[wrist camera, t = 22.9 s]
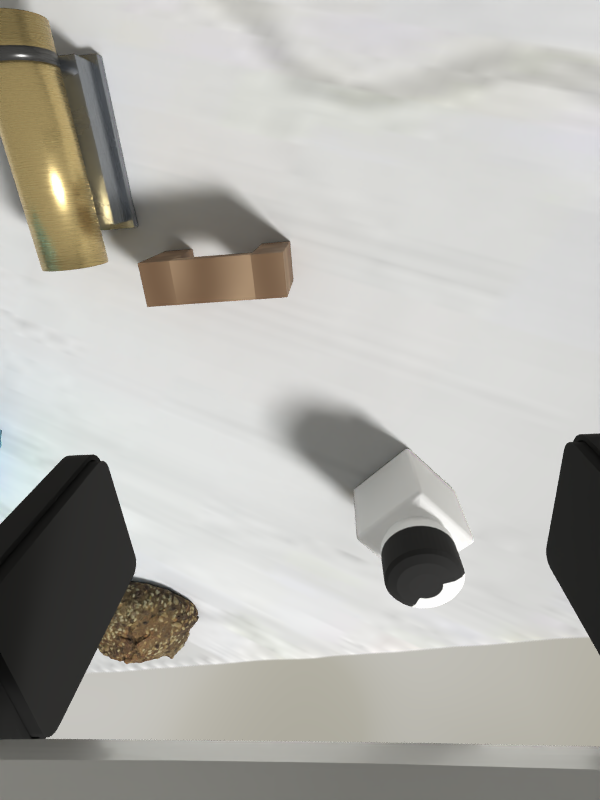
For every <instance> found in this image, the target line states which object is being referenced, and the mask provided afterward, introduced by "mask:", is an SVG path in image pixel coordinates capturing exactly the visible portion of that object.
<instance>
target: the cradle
mask: <svg viewBox="0 0 600 800" xmlns="http://www.w3.org/2000/svg"><path fill="white" fill-rule="evenodd" d="M58 59H59V63H60V67H61V73H62V77H63V81H64V85H65V89H66V93H67V97H68V101H69V105H70V109H71V113H72V117H73V121H74V125H75V129H76V133H77V137H78V141H79V145H80V149H81V153H82V157H83V161H84V165H85V169H86V173H87V177H88V182H89V186H90V190H91V194H92V198H93V202H94V206H95V210H96V214H97V218H98V222H99V226H100V230H111V229H123V228H134V227H138V224H137V219H136V214H135V210H134V205H133V200H132V196H131V191H130V186H129V182H128V177H127V172H126V168H125V163H124V158H123V154H122V149H121V144H120V140H119V135H118V131H117V126H116V121H115V117H114V112H113V107H112V103H111V98H110V93H109V89H108V84H107V79H106V75H105V70H104V65H103V61H102V56H100V55H98V54H89V55H81V56H78V55H76V54H70V55H62V56H58Z"/></svg>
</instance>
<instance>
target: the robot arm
mask: <svg viewBox="0 0 600 800" xmlns="http://www.w3.org/2000/svg"><path fill="white" fill-rule="evenodd" d="M546 555H547V560H548V564H549V566H550V568H551V570H552V572H553V574H554V575H555V577H556V579H557V581H558V582H559V584H560V586H561V588H562V589H563V591H564V593H565V595H566V596H567V598H568V600H569V602H570V604H571V605H572V607H573V609H574V611H575V612H576V614H577V616H578V618H579V619H580V621H581V623H582V625H583V626H584V628H585V630H586V632H587V633H588V635H589V637H590V639H591V641H592V642H593V644H594V646H595V648H596V649H597V651H598V653H599V655H600V434H579V435H578V436H576V438H575V439H574V441H573V442H569V443H567V444H566V446H565V449H564V453H563V459H562V464H561V470H560V475H559V481H558V486H557V492H556V498H555V503H554V509H553V514H552V520H551V525H550V531H549V536H548V542H547V548H546ZM135 568H136V558H135V554H134V550H133V547H132V544H131V540H130V537H129V534H128V530H127V527H126V524H125V521H124V517H123V514H122V511H121V507H120V504H119V501H118V497H117V494H116V491H115V487H114V484H113V481H112V477H111V474H110V471H109V468H108V465H107V464H106V462H104V461H100V459H99V458H98V457H97V456H96V455H74V456H66V457H65V458H63V459H62V460H61V461H60V462H59V463H58V464H57V465H56V466H55V467H54V469H53V470H52V471H51V472H50V473H49V474H48V475H47V476H46V477H45V478H44V479H43V480H42V481H41V482H40V483H39V484H38V485H37V486H36V487H35V488H34V489H33V491H32V492H31V493H30V494H29V495H28V496H27V497H26V498H25V499H24V500H23V501H22V502H21V503H20V504H19V505H18V506H17V507H16V508H15V509H14V510H13V511H12V513H11V514H10V515H9V516H8V517H7V518H6V519H5V520H4V521H3V522H2V523H1V524H0V800H600V747H599V746H598V747H596V746H546V745H492V744H491V745H489V744H441V743H375V742H370V743H369V742H306V741H304V742H303V741H302V742H301V741H225V740H223V741H221V740H219V741H218V740H102V739H101V740H99V739H97V740H96V739H94V740H93V739H45V738H46V737H50V736H52V735H53V734H54V733H55V731H56V730H57V728H58V726H59V725H60V723H61V721H62V719H63V717H64V715H65V713H66V711H67V708H68V707H69V705H70V703H71V701H72V699H73V697H74V695H75V692H76V690H77V688H78V686H79V684H80V682H81V680H82V678H83V676H84V674H85V672H86V670H87V668H88V666H89V664H90V662H91V660H92V658H93V656H94V654H95V652H96V650H97V648H98V646H99V644H100V642H101V640H102V638H103V636H104V634H105V632H106V630H107V628H108V626H109V624H110V622H111V620H112V618H113V616H114V614H115V612H116V610H117V608H118V606H119V604H120V602H121V600H122V598H123V596H124V594H125V592H126V590H127V588H128V585H129V583H130V581H131V579H132V577H133V575H134V573H135Z"/></svg>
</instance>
